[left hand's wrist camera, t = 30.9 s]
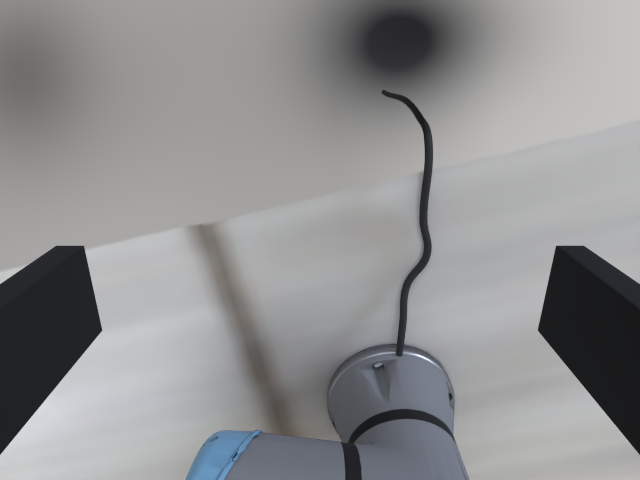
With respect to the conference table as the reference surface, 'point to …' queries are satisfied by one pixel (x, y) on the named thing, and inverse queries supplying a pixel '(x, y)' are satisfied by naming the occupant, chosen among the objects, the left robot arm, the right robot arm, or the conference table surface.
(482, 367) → the conference table surface
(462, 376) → the conference table surface
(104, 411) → the conference table surface
